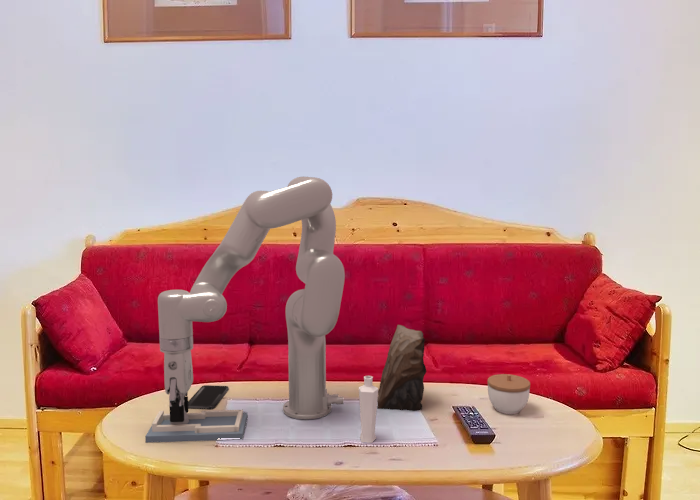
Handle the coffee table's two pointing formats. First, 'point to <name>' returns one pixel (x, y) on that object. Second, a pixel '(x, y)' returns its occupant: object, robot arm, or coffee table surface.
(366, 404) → the perfume bottle
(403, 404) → the brown rock
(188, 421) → the rook chess piece
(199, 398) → the phone
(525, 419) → the coffee table surface
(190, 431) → the keyhole board
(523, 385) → the lidded jar
